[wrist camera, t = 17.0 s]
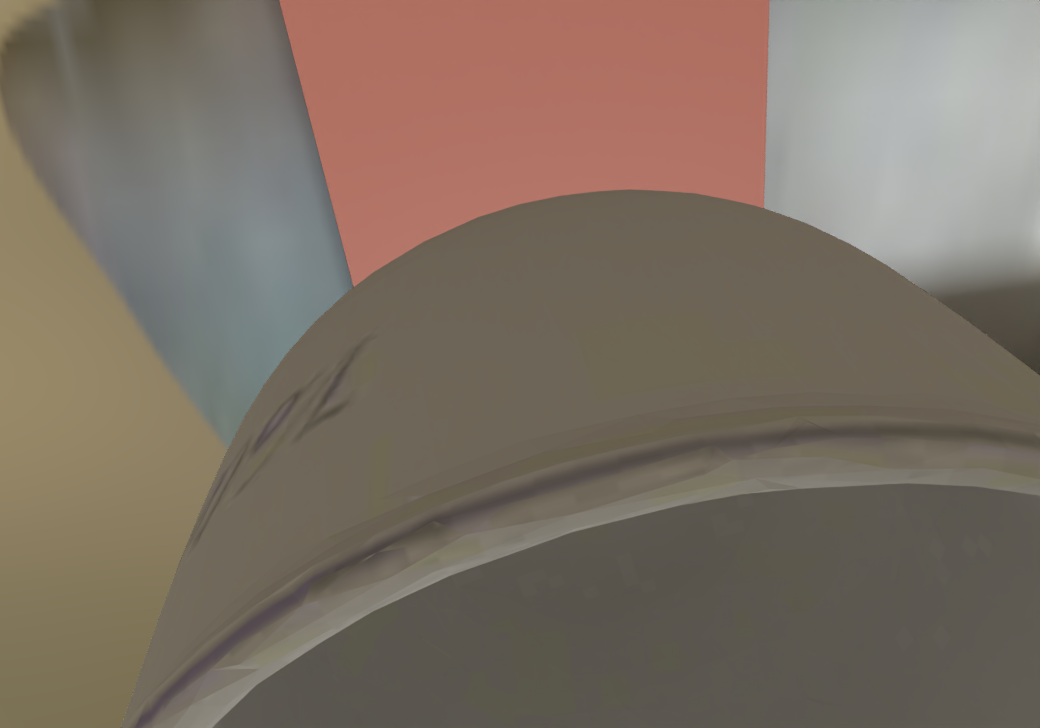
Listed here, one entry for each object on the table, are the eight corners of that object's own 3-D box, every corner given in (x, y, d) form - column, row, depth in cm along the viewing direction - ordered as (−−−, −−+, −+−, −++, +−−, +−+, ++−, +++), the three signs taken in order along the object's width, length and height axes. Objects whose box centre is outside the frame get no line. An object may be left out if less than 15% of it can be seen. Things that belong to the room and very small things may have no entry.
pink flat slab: (772, -129, 20) (265, -51, 19) (757, 454, 29) (412, 513, 28) (743, -129, 21) (278, -58, 21) (738, 421, 30) (412, 476, 30)
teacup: (221, 77, 10) (-237, 483, 4) (1034, 121, 11) (1898, 514, 5) (299, 755, 18) (194, 1324, 11) (794, 750, 19) (989, 1270, 12)
